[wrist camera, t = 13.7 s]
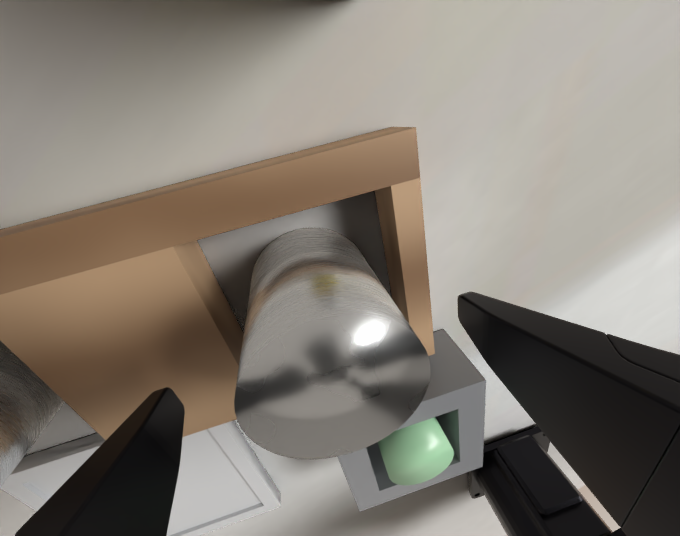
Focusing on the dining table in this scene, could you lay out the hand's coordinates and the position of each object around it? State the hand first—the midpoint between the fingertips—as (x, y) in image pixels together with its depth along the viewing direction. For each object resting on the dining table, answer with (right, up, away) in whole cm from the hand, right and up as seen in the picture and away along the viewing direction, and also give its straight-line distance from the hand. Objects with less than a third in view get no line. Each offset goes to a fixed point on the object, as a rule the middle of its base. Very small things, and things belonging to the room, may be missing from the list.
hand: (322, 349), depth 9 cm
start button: (+4, -5, +7) cm, 10 cm away
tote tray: (-9, -9, +7) cm, 15 cm away
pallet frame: (-7, 0, +3) cm, 8 cm away
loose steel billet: (-1, +2, +4) cm, 4 cm away
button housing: (+3, -5, +8) cm, 10 cm away
